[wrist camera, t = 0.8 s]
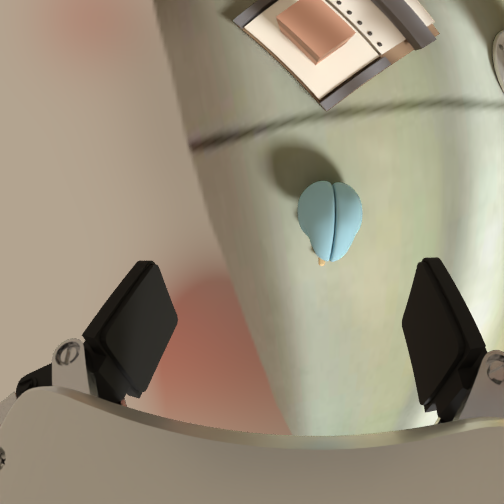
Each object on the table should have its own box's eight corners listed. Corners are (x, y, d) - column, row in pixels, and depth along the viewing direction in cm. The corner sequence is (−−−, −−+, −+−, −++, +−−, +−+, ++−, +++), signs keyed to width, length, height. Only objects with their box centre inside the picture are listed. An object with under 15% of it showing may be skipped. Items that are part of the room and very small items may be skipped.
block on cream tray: (303, -14, 18) (304, -40, 12) (377, 57, 21) (398, 48, 15) (245, 29, 22) (230, 12, 16) (319, 99, 25) (324, 100, 19)
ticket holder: (351, -49, 14) (356, -65, 10) (434, 35, 18) (451, 30, 14) (237, 25, 22) (227, 16, 19) (325, 110, 27) (329, 113, 23)
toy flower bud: (291, 300, 31) (298, 203, 24) (295, 252, 38) (299, 168, 31) (353, 303, 30) (377, 209, 23) (346, 256, 37) (359, 173, 30)
